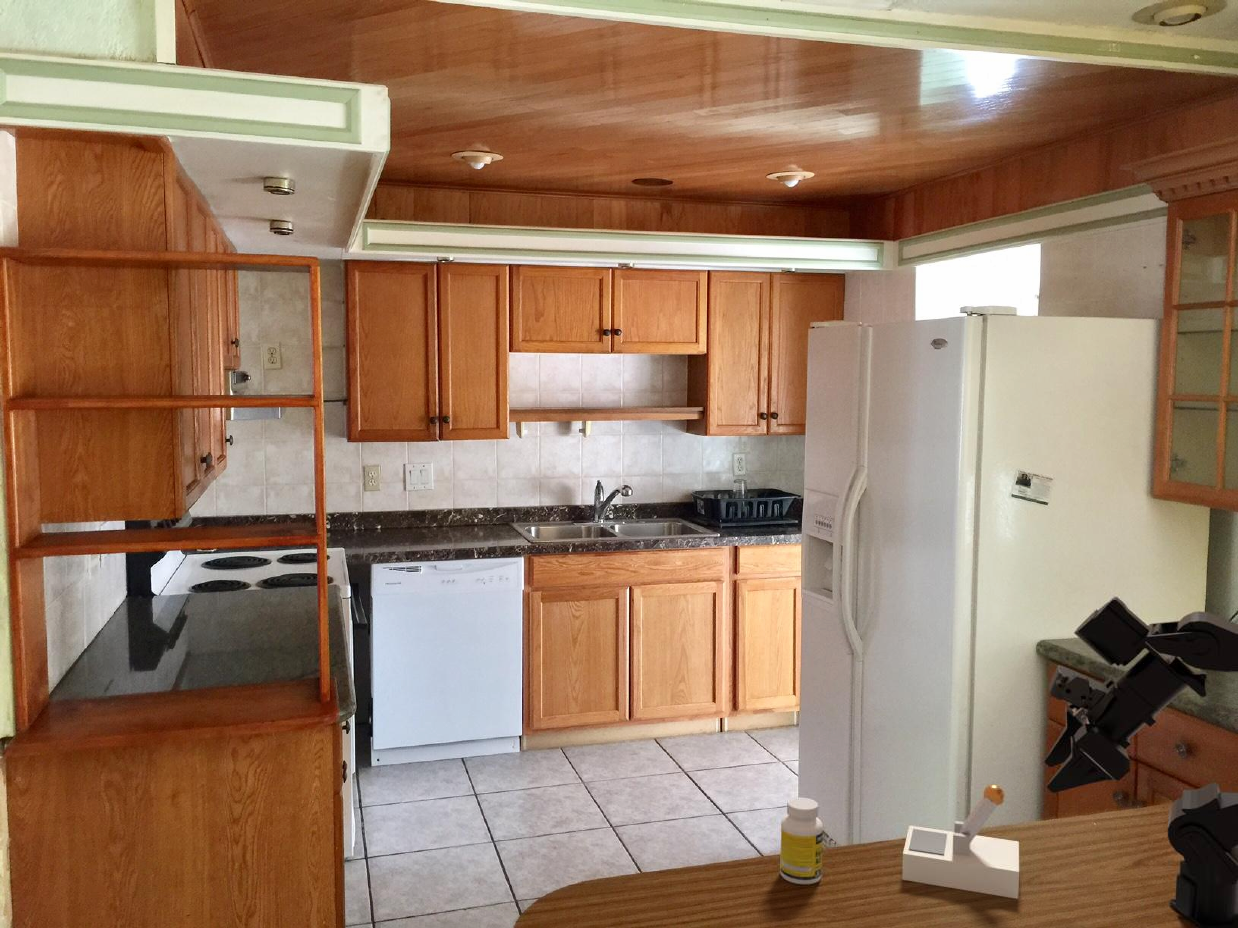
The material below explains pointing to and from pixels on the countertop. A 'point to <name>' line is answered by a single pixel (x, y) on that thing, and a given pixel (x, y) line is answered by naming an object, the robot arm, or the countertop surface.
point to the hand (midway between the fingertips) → (1048, 776)
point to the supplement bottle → (801, 842)
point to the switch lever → (982, 811)
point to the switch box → (961, 861)
